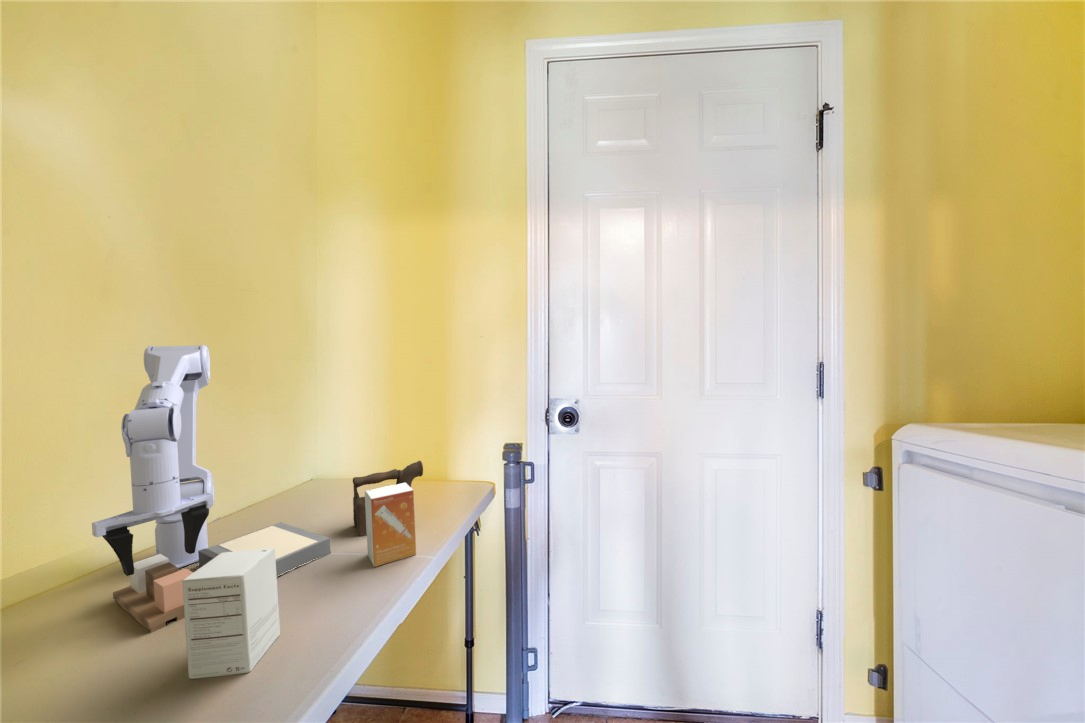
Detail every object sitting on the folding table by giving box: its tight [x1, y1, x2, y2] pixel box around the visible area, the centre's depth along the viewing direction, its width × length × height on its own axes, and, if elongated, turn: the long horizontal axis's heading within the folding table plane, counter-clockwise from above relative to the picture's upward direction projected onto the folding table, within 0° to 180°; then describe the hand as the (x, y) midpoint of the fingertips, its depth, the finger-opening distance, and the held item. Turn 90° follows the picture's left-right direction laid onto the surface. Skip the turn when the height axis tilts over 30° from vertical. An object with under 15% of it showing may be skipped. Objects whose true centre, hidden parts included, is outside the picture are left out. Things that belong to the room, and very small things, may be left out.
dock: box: [198, 522, 331, 576], centre depth 80 cm, size 19×15×3 cm
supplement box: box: [182, 549, 281, 680], centre depth 54 cm, size 7×7×13 cm
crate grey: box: [129, 554, 169, 593], centre depth 70 cm, size 4×4×4 cm
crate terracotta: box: [153, 568, 194, 613], centre depth 64 cm, size 4×4×4 cm
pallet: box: [112, 562, 185, 633], centre depth 67 cm, size 17×8×6 cm, turn 59°
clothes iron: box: [352, 460, 424, 537], centre depth 96 cm, size 8×16×13 cm, turn 121°
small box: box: [364, 483, 417, 568], centre depth 80 cm, size 8×6×13 cm
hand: (161, 562), depth 67 cm, fingers open, 7 cm apart
